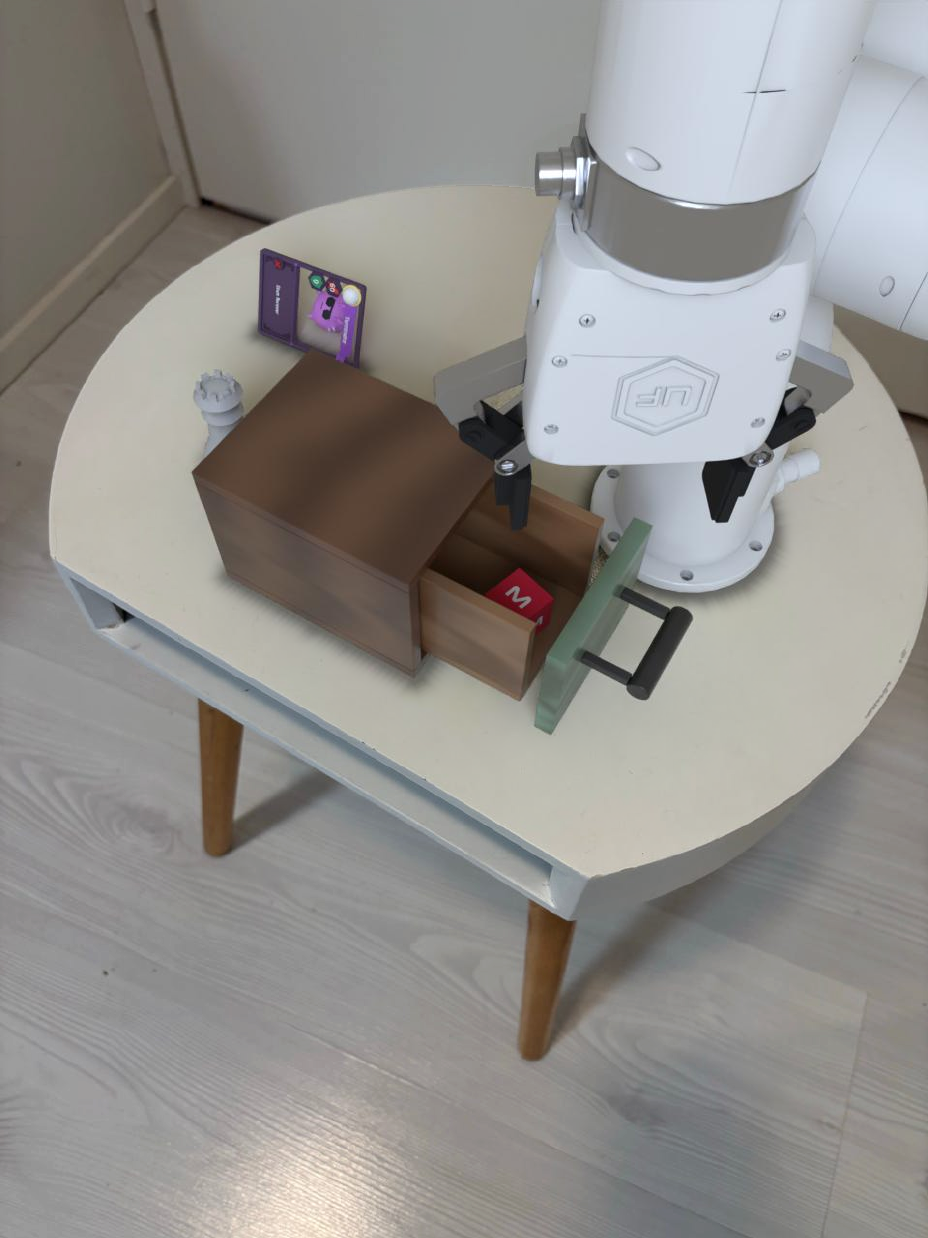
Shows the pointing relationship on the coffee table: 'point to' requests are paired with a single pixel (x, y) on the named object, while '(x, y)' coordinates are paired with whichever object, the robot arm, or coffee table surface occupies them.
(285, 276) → the game card
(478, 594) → the drawer
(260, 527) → the cabinet
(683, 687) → the coffee table surface
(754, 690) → the coffee table surface
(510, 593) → the red letter cube
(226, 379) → the rook chess piece
